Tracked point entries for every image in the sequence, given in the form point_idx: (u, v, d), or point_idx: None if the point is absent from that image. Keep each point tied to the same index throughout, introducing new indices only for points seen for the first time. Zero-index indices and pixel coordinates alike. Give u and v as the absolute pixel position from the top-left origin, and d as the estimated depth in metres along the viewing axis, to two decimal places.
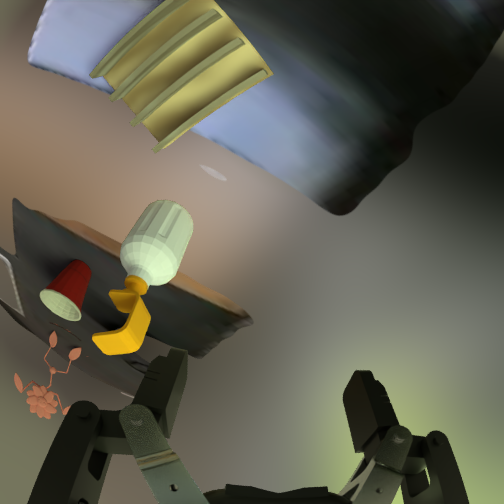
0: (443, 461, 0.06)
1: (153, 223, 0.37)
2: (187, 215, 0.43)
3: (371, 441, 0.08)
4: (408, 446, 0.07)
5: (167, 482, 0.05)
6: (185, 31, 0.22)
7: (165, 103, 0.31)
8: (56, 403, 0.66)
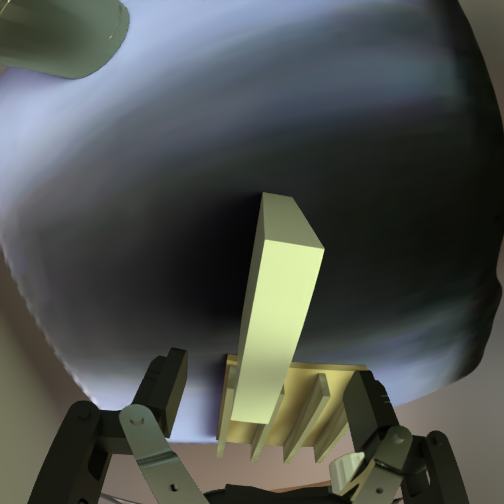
0: (443, 461, 0.06)
1: None
2: None
3: (371, 441, 0.08)
4: (408, 446, 0.07)
5: (167, 482, 0.05)
6: (272, 416, 0.26)
7: None
8: None
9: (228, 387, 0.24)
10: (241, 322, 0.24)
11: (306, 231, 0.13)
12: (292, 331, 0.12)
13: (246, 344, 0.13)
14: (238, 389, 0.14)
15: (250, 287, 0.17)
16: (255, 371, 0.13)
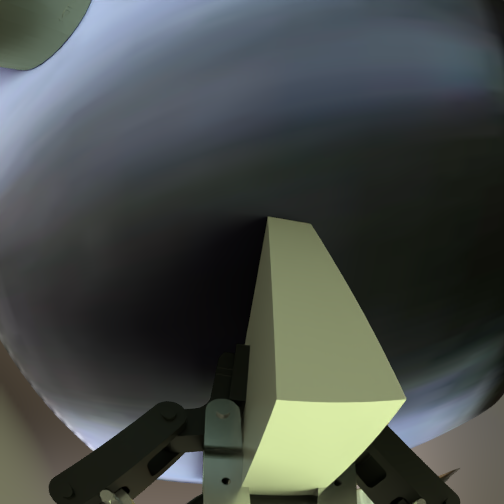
0: (391, 449, 0.07)
1: None
2: None
3: None
4: None
5: (222, 474, 0.06)
6: None
7: None
8: None
9: None
10: None
11: (358, 329, 0.06)
12: (315, 486, 0.05)
13: None
14: None
15: None
16: None
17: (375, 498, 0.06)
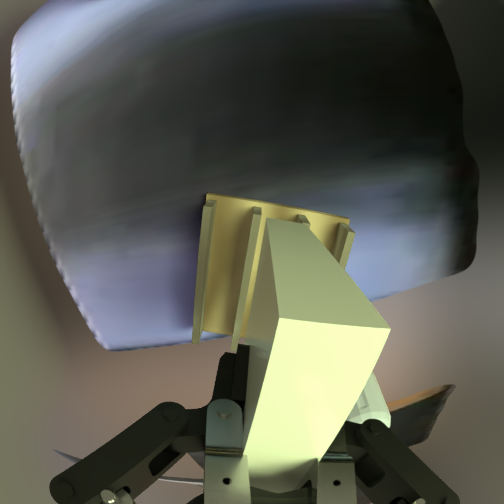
0: (390, 449, 0.07)
1: None
2: None
3: None
4: None
5: (223, 474, 0.06)
6: (250, 254, 0.28)
7: None
8: None
9: (204, 206, 0.26)
10: None
11: (346, 286, 0.07)
12: (317, 445, 0.06)
13: None
14: None
15: (249, 357, 0.11)
16: (257, 482, 0.07)
17: (374, 498, 0.06)
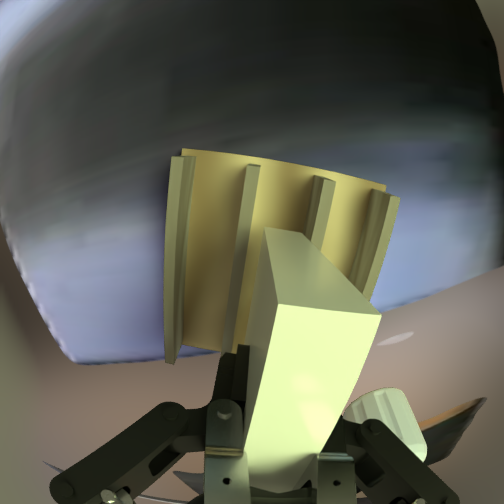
0: (390, 449, 0.07)
1: None
2: (393, 391, 0.27)
3: None
4: (336, 430, 0.08)
5: (223, 474, 0.06)
6: (244, 230, 0.18)
7: None
8: None
9: (174, 156, 0.16)
10: None
11: (340, 282, 0.08)
12: (316, 436, 0.06)
13: None
14: None
15: (249, 358, 0.11)
16: (258, 479, 0.07)
17: (374, 498, 0.06)
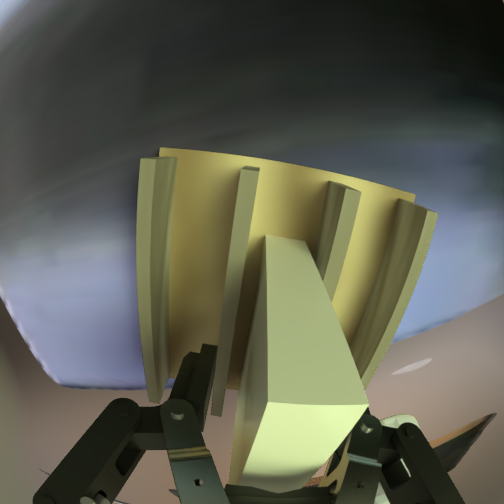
0: (420, 453, 0.06)
1: None
2: (405, 419, 0.23)
3: None
4: (376, 436, 0.08)
5: (193, 476, 0.05)
6: (237, 256, 0.13)
7: None
8: None
9: (144, 158, 0.12)
10: None
11: (336, 346, 0.07)
12: (303, 474, 0.07)
13: (240, 481, 0.07)
14: None
15: (247, 382, 0.11)
16: None
17: (394, 502, 0.06)
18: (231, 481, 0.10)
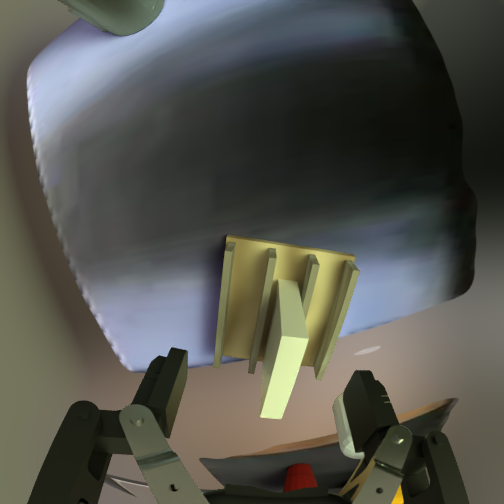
0: (443, 461, 0.06)
1: None
2: None
3: (371, 441, 0.08)
4: (408, 446, 0.07)
5: (167, 482, 0.05)
6: (267, 291, 0.31)
7: None
8: None
9: (226, 250, 0.30)
10: (263, 357, 0.36)
11: (302, 324, 0.25)
12: (294, 372, 0.24)
13: (271, 377, 0.25)
14: (265, 399, 0.26)
15: (271, 344, 0.29)
16: (275, 390, 0.25)
17: None
18: (264, 393, 0.27)
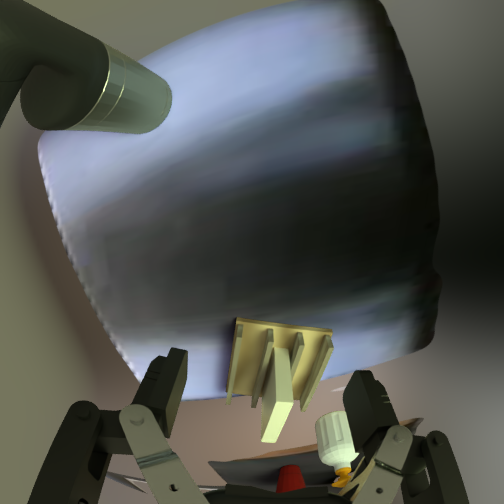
0: (443, 461, 0.06)
1: (329, 436, 0.46)
2: (343, 413, 0.51)
3: (371, 441, 0.08)
4: (408, 446, 0.07)
5: (167, 482, 0.05)
6: (266, 361, 0.41)
7: None
8: None
9: (237, 336, 0.40)
10: (262, 396, 0.47)
11: (289, 391, 0.35)
12: (283, 418, 0.35)
13: (269, 421, 0.35)
14: (265, 432, 0.36)
15: (269, 396, 0.39)
16: (271, 427, 0.36)
17: None
18: (264, 427, 0.38)
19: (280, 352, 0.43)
